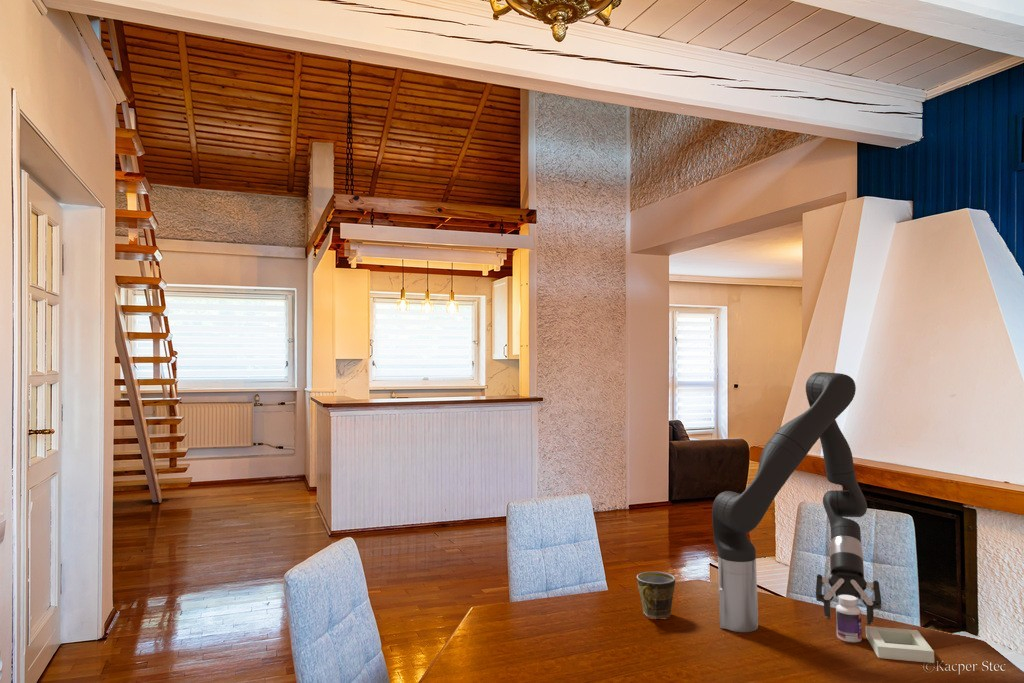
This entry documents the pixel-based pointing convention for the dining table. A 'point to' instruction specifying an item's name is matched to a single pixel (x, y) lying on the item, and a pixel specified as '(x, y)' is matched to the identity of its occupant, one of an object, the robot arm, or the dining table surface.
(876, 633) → the socket board
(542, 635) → the dining table surface
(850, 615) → the pill bottle
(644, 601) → the ceramic cup
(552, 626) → the dining table surface
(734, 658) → the dining table surface
